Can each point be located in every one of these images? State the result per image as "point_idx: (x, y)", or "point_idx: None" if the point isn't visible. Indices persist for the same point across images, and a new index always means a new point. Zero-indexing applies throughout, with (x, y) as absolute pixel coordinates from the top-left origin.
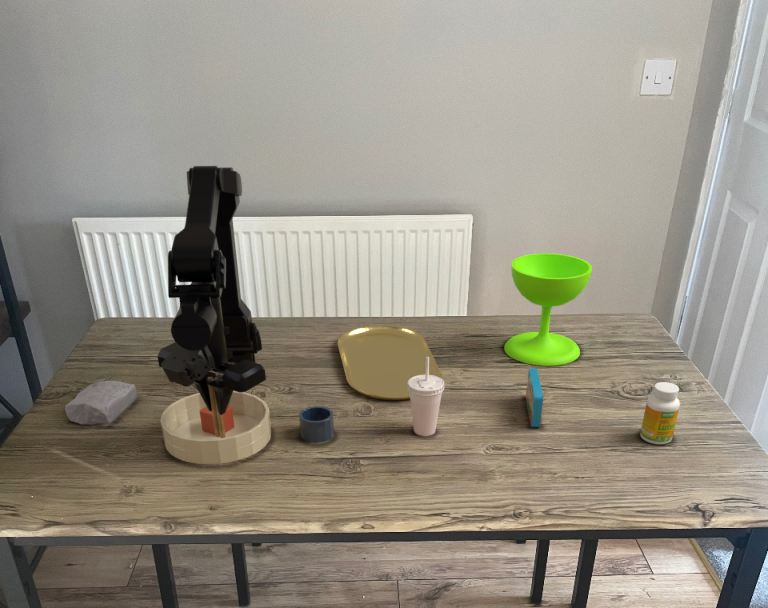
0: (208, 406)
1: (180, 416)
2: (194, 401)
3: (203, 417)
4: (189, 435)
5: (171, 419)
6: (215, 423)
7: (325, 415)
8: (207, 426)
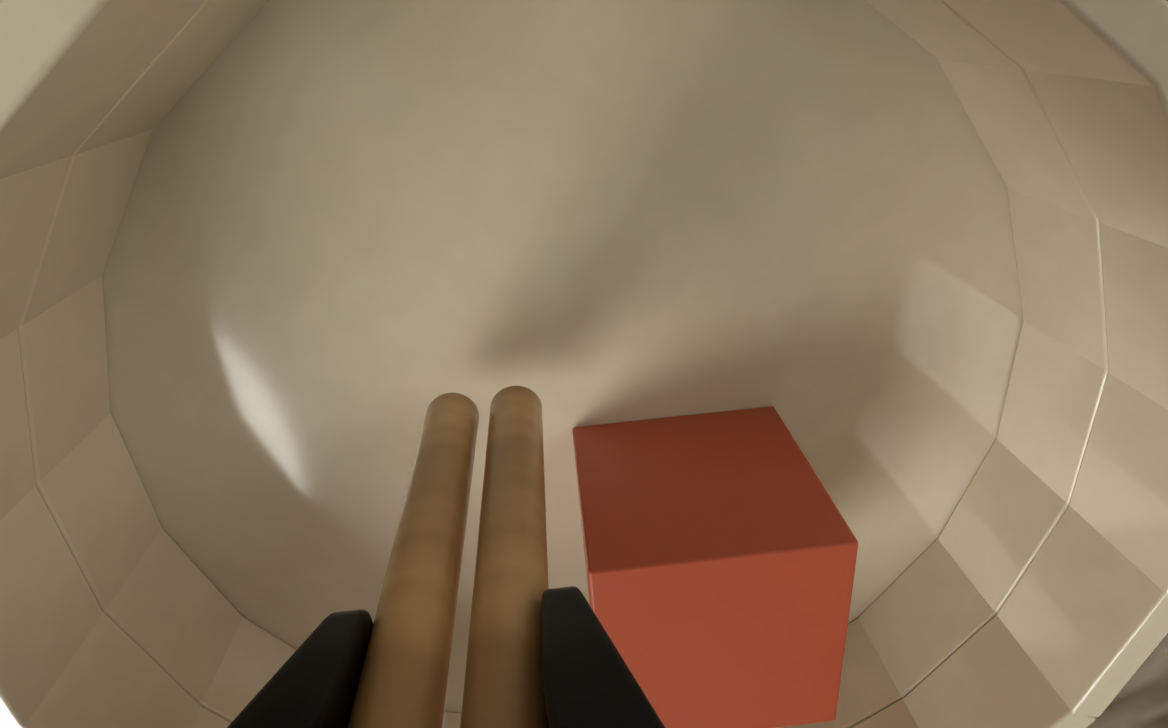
0: (561, 644)
1: (1066, 410)
2: (1057, 622)
3: (782, 500)
4: (821, 285)
5: (1106, 292)
6: (494, 482)
7: None
8: (717, 449)
